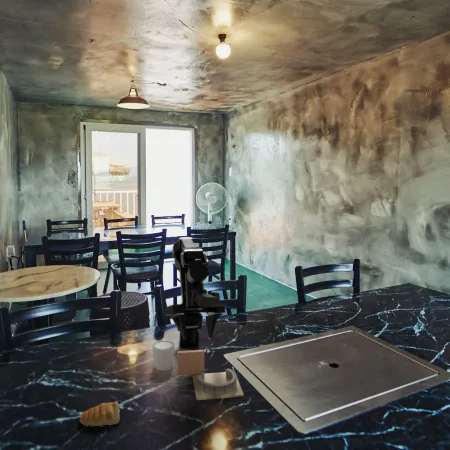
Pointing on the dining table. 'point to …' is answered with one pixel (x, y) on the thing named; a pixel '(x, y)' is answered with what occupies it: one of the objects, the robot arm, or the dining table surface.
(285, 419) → the dining table surface
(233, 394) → the dock
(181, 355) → the block
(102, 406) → the pastry
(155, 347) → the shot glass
